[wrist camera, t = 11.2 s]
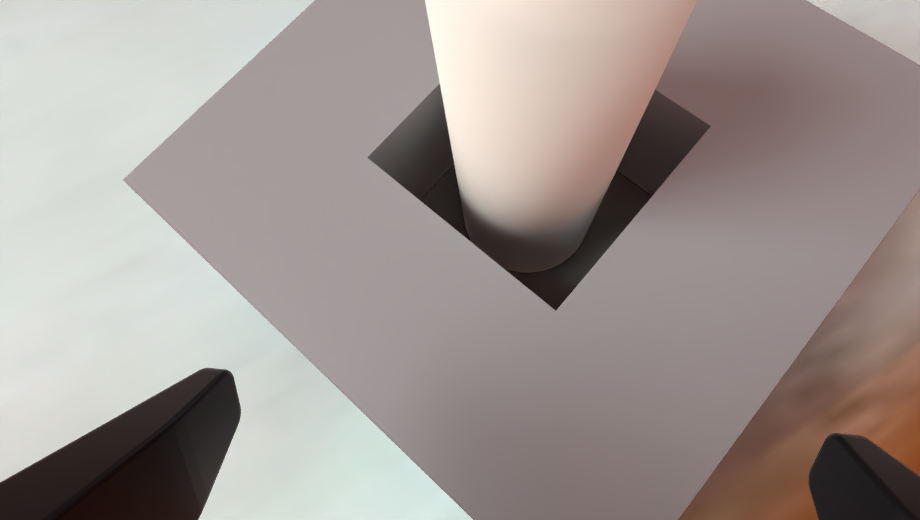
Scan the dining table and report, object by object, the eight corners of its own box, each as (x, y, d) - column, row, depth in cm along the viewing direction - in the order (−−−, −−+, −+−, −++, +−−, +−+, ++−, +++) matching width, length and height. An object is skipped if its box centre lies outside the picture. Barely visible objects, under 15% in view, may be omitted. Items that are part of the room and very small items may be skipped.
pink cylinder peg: (615, 204, 19) (794, -122, 7) (535, 298, 18) (596, 98, 7) (518, 133, 20) (543, -250, 8) (438, 219, 19) (348, -72, 8)
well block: (858, 182, 19) (983, 101, 14) (565, 569, 16) (593, 635, 11) (500, -46, 22) (500, -173, 17) (214, 237, 20) (123, 180, 15)
